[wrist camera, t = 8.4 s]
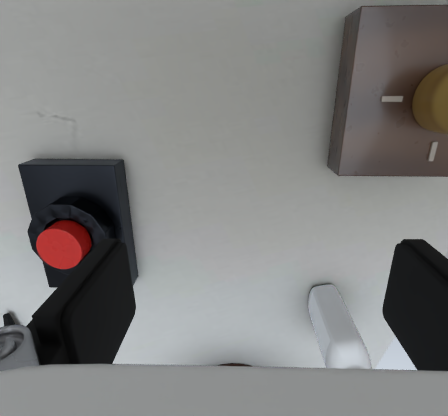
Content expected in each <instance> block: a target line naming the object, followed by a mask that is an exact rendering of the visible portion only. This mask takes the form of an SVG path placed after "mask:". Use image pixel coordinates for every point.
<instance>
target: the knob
mask: <svg viewBox="0 0 448 416" xmlns="http://www.w3.org/2000/svg"><path fill="white" fill-rule="evenodd" d="M412 110H413V115H414V117H415V119H416V121H417V122H418V124H419V125H420V126H422V127H423V128H425V129H426V130H429V131H433V132H437V133H442V134H446V135H448V64H446V65H443V66H440V67H438V68H436V69H435V70H433V71H431V72H430V73H429V74H428V75H427V76H426V77H425V78H424V79H423V80H422V81H421V82H420V84H419V85H418V87H417V89H416V91H415V94H414V97H413V102H412Z"/></svg>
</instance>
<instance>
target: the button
mask: <svg viewBox="0 0 448 416" xmlns="http://www.w3.org/2000/svg"><path fill="white" fill-rule="evenodd" d="M36 247H37V251H38V253H39V255H40V257H41V258H42V259H43V260H44V261H45V262H46V263H47V264H49V265H51V266H52V267H55V268H59V269H69V268H72V267H74V266H76V265H77V264H78V263H79V262H80V261H81V260H82V259H83V258H84V257H85V256H86V254H87V253H88V252H89V251H90V248H91V237H90V235H89V233H88V232H87V230H86V229H85V228H84V227H83V226H82V225H80V224H79V223H77V222H74V221H71V220H61V221H58V222H56V223H54V224H53V225H51V226H50V227H49V228H47V229H46V230H45V231H43V232H42V233H41V234H40V235H39V236H38V238H37V242H36Z"/></svg>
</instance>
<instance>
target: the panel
mask: <svg viewBox="0 0 448 416" xmlns="http://www.w3.org/2000/svg"><path fill="white" fill-rule="evenodd" d="M446 64H448V5H397V6H361V7H360V8H358V9H357V10H355V11H354V12H352V13H351V14H349V15H348V16H346V20H345V28H344V36H343V44H342V52H341V60H340V68H339V76H338V84H337V92H336V100H335V108H334V116H333V124H332V132H331V140H330V148H329V157H328V165H327V166H328V167H329V168H330V169H331V170H332V171H333V172H334V173H336V174H337V175H338V176H435V177H448V135H446V134H442V133H437V132H433V131H429V130H426V129H425V128H423V127H422V126H420V125H419V124H418V122H417V121H416V119H415V117H414V115H413V110H412V102H413V97H414V94H415V91H416V89H417V87H418V85H419V84H420V82H421V81H422V80H423V79H424V78H425V77H426V76H427V75H428V74H429V73H430V72H431V71H433V70H435V69H436V68H438V67H440V66H443V65H446Z"/></svg>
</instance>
